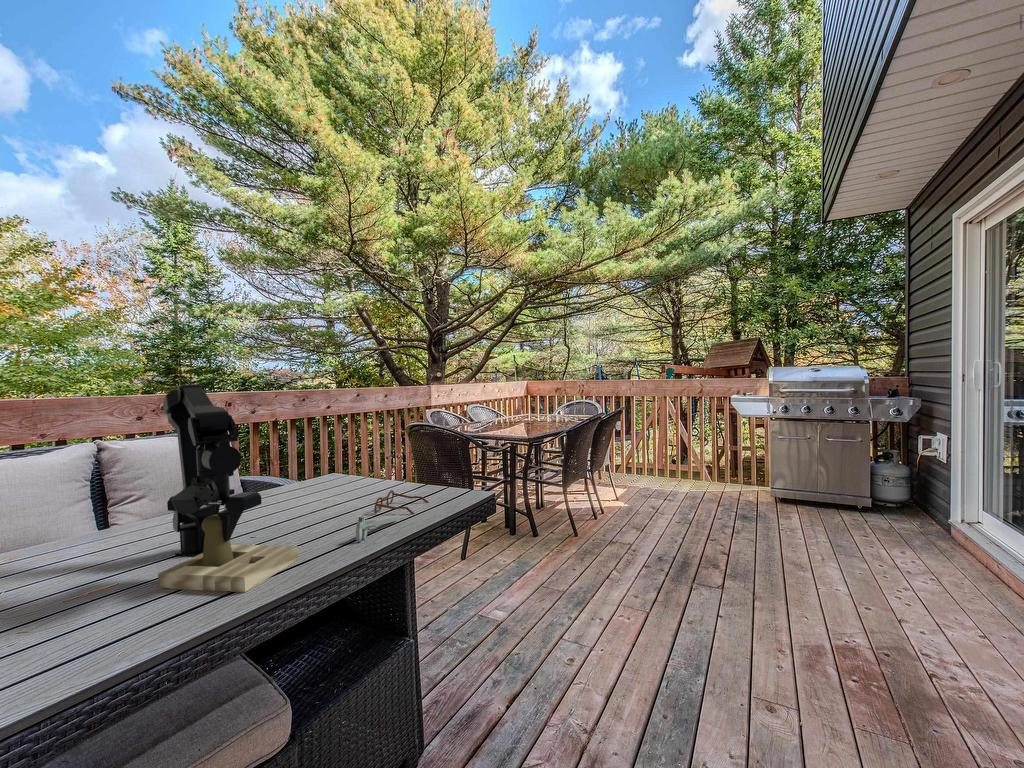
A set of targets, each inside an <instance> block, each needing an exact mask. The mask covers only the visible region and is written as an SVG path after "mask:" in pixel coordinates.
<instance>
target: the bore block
mask: <svg viewBox="0 0 1024 768" xmlns="http://www.w3.org/2000/svg"><path fill="white" fill-rule="evenodd" d="M231 548H232V553H233V558H234V560H232V561H230V562H228V563H226V564H224V565H222V566H220V567H206V566H202V559H203V553H202V554H200V555H198V556H193V557H191V558H189V559H187V560H185V561H183V562H179V563H178V564H175V565H174V566H171V567H169V568H167V569H165V570H163V571H161V572H159V573H157V580H158V582H157V583H158V589H163V588H170V589H169V590H185V591H187V590H188V591H206V590H207V591H208V590H209V591H210V592H227V591H231V593H232V592H233V593H247V592H248V591H250V590H251V589H253V588H255V587H256V586H258V585H260V584H261V583H263V582H264V581H266V580H268V579H269V578H271V577H273V576H274V575H276V574H277V573H279V572H280V571H282V570H284V569H285V568H287V567H288V565H289V566H290V565H292V564H294V563H295V562H296V560H297V561H298V560H299V551H298V549H299V546H296V545H295V546H292V545H291V546H290V545H258V544H256V545H253V544H252V545H251V544H231ZM291 563H292V564H291ZM211 590H212V591H211Z"/></svg>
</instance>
